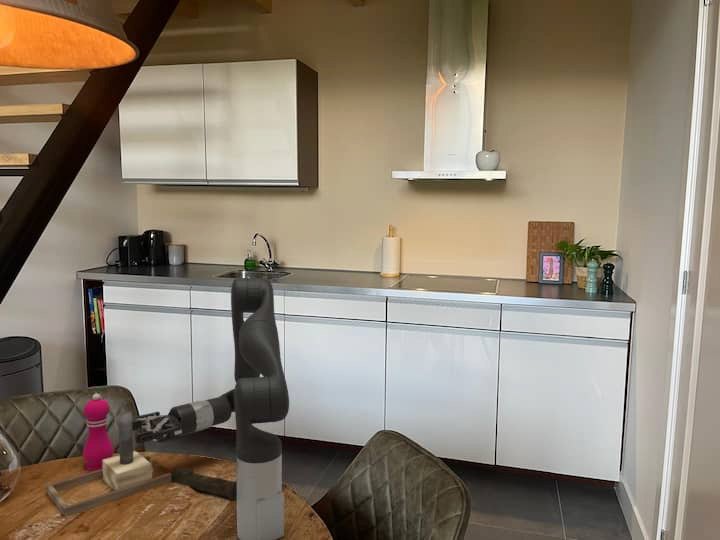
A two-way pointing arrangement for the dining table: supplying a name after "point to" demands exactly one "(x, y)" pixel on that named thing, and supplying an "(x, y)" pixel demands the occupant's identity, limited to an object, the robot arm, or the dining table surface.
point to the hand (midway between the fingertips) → (128, 434)
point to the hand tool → (205, 482)
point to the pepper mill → (97, 433)
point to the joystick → (126, 459)
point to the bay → (100, 499)
